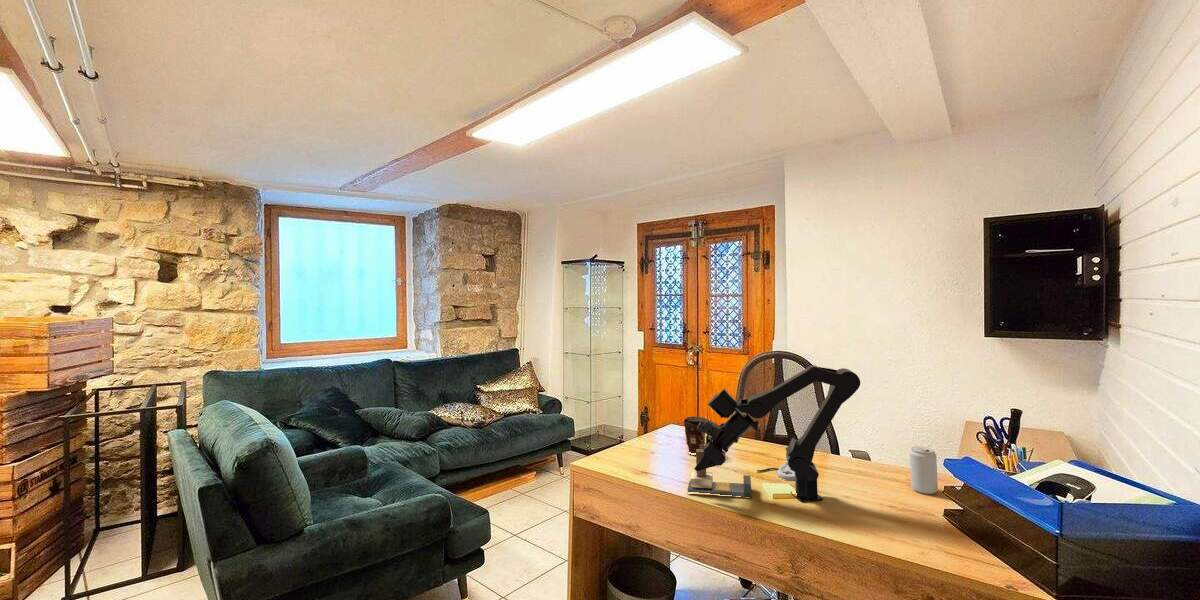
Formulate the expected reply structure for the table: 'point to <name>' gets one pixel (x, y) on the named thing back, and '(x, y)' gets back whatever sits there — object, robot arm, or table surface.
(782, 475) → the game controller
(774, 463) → the table surface
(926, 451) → the beverage can
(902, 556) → the table surface
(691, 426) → the coffee cup
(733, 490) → the clamp rail
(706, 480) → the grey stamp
